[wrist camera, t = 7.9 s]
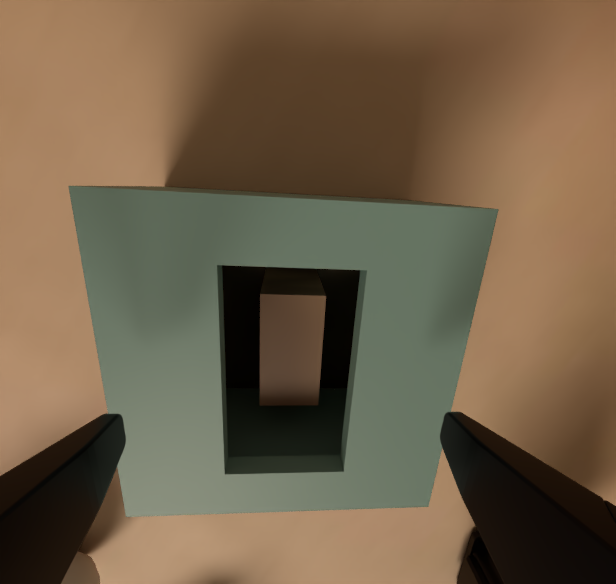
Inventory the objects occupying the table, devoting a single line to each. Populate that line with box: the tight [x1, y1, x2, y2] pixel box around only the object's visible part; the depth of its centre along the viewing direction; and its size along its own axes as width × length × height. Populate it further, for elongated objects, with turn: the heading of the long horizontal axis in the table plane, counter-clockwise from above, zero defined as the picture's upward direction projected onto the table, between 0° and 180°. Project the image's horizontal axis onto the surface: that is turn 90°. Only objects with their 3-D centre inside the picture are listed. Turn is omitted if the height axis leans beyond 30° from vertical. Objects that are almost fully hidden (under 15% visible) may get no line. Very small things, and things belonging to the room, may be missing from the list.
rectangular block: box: [260, 267, 326, 406], centre depth 15 cm, size 2×5×5 cm, turn 177°
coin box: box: [69, 186, 498, 517], centre depth 14 cm, size 12×12×7 cm
